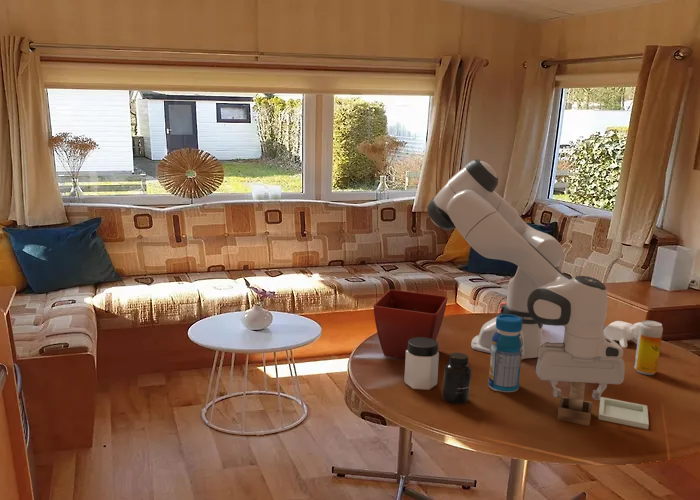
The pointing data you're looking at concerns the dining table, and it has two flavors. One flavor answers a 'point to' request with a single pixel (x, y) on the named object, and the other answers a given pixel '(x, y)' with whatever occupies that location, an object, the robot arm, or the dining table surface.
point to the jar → (421, 363)
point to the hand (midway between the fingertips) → (576, 397)
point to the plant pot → (407, 319)
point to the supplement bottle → (457, 379)
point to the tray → (623, 413)
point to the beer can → (648, 347)
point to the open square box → (574, 412)
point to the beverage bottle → (506, 354)
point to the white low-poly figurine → (622, 332)
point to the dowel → (576, 396)
